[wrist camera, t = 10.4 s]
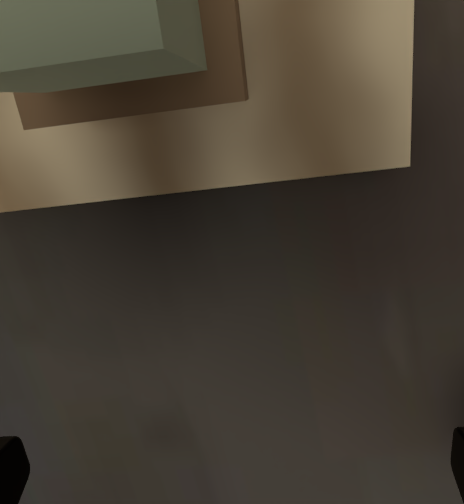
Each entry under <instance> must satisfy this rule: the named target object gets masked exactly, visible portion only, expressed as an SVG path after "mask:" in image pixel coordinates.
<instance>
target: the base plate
mask: <svg viewBox="0 0 464 504" xmlns="http://www.w3.org/2000/svg"><path fill="white" fill-rule="evenodd" d="M198 4H199V11H200V19H201V26H202V34H203V41H204V49H205V57H206V64H207V70H205V71H198V72H191V73H184V74H177V75H169V76H162V77H155V78H148V79H141V80H133V81H126V82H119V83H112V84H105V85H97V86H90V87H83V88H76V89H69V90H61V91H54V92H47V93H22V92H0V212H9V211H18V210H27V209H36V208H45V207H54V206H63V205H72V204H81V203H89V202H98V201H107V200H116V199H125V198H134V197H143V196H152V195H161V194H170V193H178V192H187V191H196V190H205V189H214V188H223V187H232V186H241V185H250V184H259V183H267V182H276V181H285V180H294V179H303V178H312V177H321V176H330V175H339V174H348V173H356V172H365V171H374V170H383V169H392V168H401V167H410V154H411V113H412V71H413V30H414V0H198Z"/></svg>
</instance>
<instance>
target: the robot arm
mask: <svg viewBox="0 0 464 504" xmlns="http://www.w3.org/2000/svg"><path fill="white" fill-rule="evenodd" d="M451 467H452V471H453V474H454V477H455V480H456V483H457V486H458V489H459V491H460V494H461V497H462V500H463V503H464V427H457V428H455V430H454V433H453V441H452V451H451ZM29 473H30V464H29V460H28V458H27V455H26V452H25V449H24V446H23V443H22V441H21V439H20V438H19V437H17V436H3V437H0V504H18V503H19V500H20V498H21V495H22V493H23V490H24V488H25V485H26V483H27V480H28V477H29Z"/></svg>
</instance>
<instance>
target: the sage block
mask: <svg viewBox="0 0 464 504" xmlns="http://www.w3.org/2000/svg"><path fill="white" fill-rule="evenodd" d="M205 70H207V64H206V57H205V49H204V41H203V34H202V26H201V19H200V11H199V4H198V0H0V92H22V93H47V92H54V91H61V90H69V89H76V88H83V87H90V86H97V85H105V84H112V83H119V82H126V81H133V80H141V79H148V78H155V77H162V76H169V75H177V74H184V73H191V72H198V71H205Z"/></svg>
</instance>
